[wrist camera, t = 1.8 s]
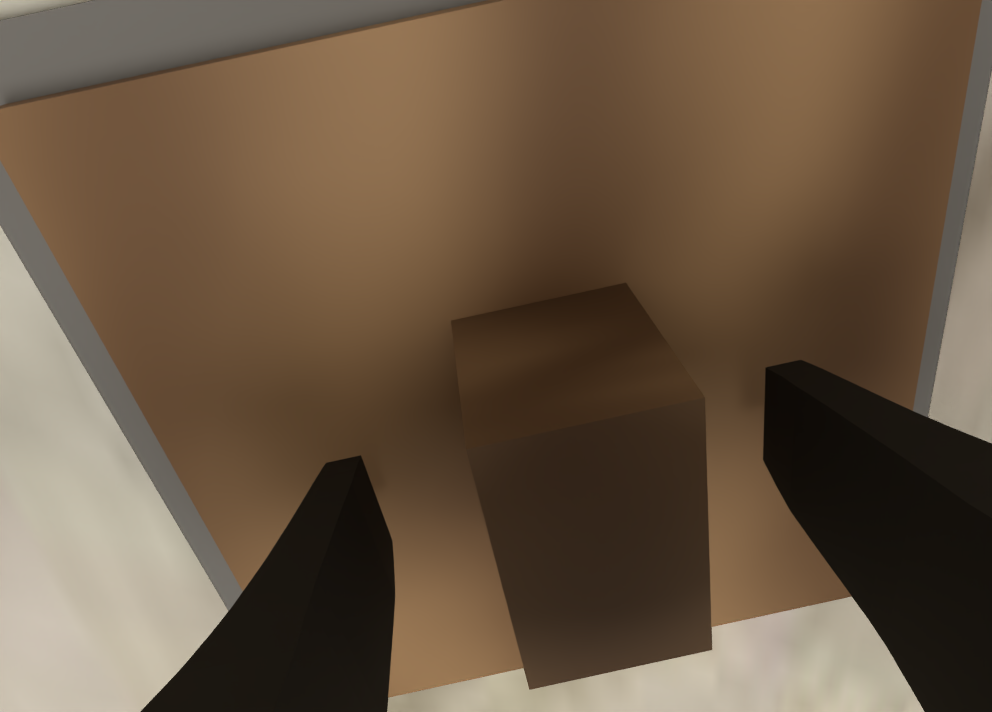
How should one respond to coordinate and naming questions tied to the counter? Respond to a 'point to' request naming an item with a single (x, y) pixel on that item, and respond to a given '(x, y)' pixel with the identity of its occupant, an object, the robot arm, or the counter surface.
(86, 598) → the counter surface
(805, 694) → the counter surface
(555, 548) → the lid
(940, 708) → the robot arm
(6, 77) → the mat
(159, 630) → the counter surface
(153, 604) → the counter surface
